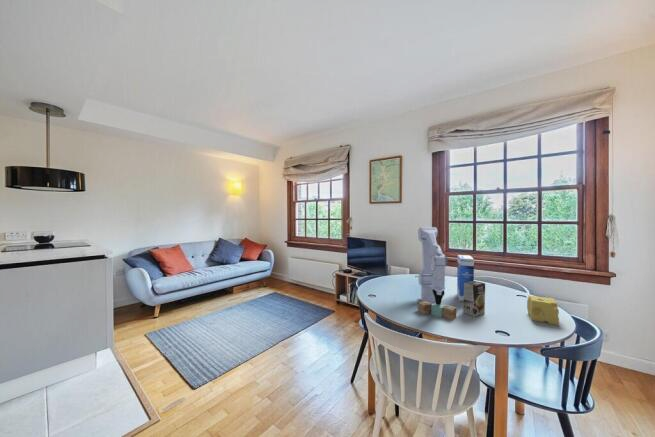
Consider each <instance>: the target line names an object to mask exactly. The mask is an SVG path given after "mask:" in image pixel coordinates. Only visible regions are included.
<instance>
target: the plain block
mask: <svg viewBox="0 0 655 437" xmlns="http://www.w3.org/2000/svg"><path fill="white" fill-rule="evenodd" d="M445 305H446V304H442V303H441V305H436V302H433V304H432V305H431V314H430V315H431V316H434V317H437V318H443V317H442V307H444V306H445Z"/></svg>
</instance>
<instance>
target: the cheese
mask: <svg viewBox="0 0 655 437" xmlns="http://www.w3.org/2000/svg"><path fill="white" fill-rule="evenodd" d="M526 308H527V312H528V316H529V318H530V320H531V321H535V322H541V323H544V322H545V323H548V324H550V325H554V324H555V325H556V326H559V324H560V317H559V313H560V312H559V306H558V303H557V301H556V299H555V298H553V297H545V296H543V297H542V296H536V295H530V294H529V295H528V297H527V300H526Z"/></svg>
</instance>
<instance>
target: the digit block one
mask: <svg viewBox="0 0 655 437" xmlns="http://www.w3.org/2000/svg"><path fill="white" fill-rule="evenodd" d="M431 305H433V304H432V303H429V302H427V301H421V300H420V301H417V312H419V313H420V314H422V315H431Z"/></svg>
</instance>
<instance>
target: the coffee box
mask: <svg viewBox="0 0 655 437" xmlns="http://www.w3.org/2000/svg"><path fill="white" fill-rule="evenodd" d="M462 302H463V303H462V305H463V307H462V313H464V314H466V315H469V316H472V317H478V316H481V315H484V314H486V313H485V312H486V310H485V308H486V307H485V306H486V283H485V282H481V281H476V280H474V281H470V282H465V283H464V300H463V301H462Z"/></svg>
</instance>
